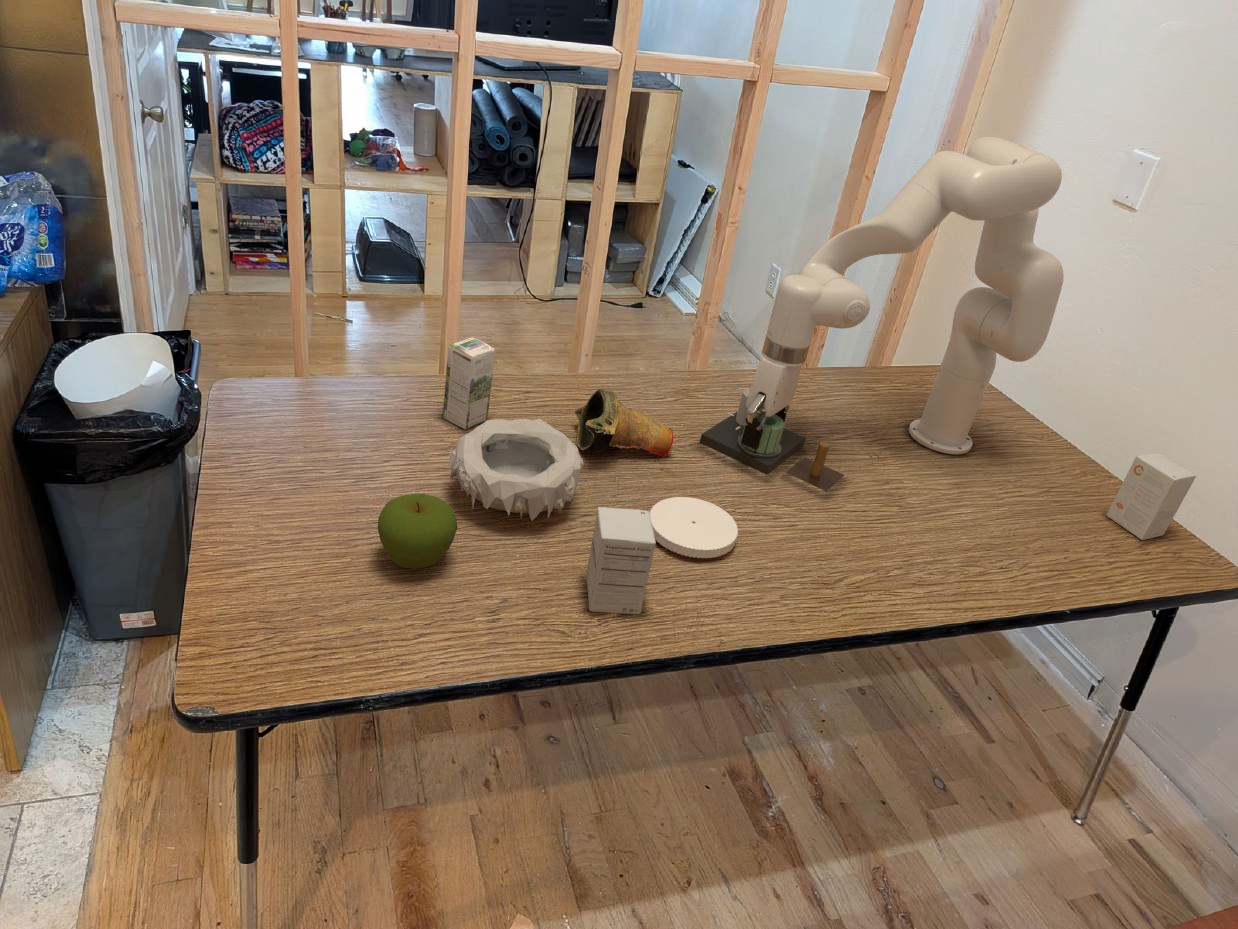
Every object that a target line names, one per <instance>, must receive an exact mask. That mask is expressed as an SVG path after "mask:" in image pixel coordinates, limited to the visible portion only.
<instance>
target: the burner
mask: <svg viewBox="0 0 1238 929" xmlns="http://www.w3.org/2000/svg"><path fill="white" fill-rule="evenodd" d="M741 438H742V435H740V436H739V437H738V440H737V445H738V447H739V448H740V449H741V450H742V451H743V452H745V453H747V454H749V455H751V456H754V457H758V458H764V459H770V458H775V457H777V456H779V455H780V453H781V445H780V444H779V446H778V449H777V451H775V452H774V453H773V452H772V453H769V454H765V453H764V454H763V453H757V452H756V451H752V450H750V449H748V447H745V446H744V445H743V444H742V443H741Z"/></svg>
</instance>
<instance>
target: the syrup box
mask: <svg viewBox="0 0 1238 929" xmlns="http://www.w3.org/2000/svg"><path fill="white" fill-rule="evenodd" d="M495 354H496V349H495V348H494V347H492V346H490V345H489V344H488V343H486V342H484V341H482V340H480V339H479V338H476V337H469V338H466V339H463V340H459V341H457V342H454V343H452V344H449V345H448V346H447V358H446V371H445V383H444V386H445V387H444V396H443V397H444V398H443V407H442V418H443V419H444V420H445V421H447V422H450V423H452V424H453V425H455V426H457V427H459V428H461V429H462V430H466V431H467V430H470V429H471V428H473V427H475V426H476V427H477V426H479V425H481V424H483V423H484V422H485V421H487V420H489V409H490V400H491V393H492V384H493V383H492V382H493V373H494V364H495V356H496V355H495Z"/></svg>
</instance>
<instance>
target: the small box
mask: <svg viewBox="0 0 1238 929" xmlns="http://www.w3.org/2000/svg"><path fill="white" fill-rule="evenodd" d="M1196 478H1197V475H1196V474H1194V473H1193V472H1191V471H1189V470H1187V469H1186V468H1184V467H1182V466H1181V465H1179V464H1178V463H1175V462H1174V461H1172V460H1171V459H1169V458H1168V457H1166V456H1164V455H1162V454H1160V453H1159V452H1155V453H1147V454H1142V455H1136V456H1135V459H1134V460H1133V461H1132V464H1131V466H1130V468H1129V469H1128V472H1127V473H1126V476H1125V478H1124V479H1123V482H1122V483H1121V485H1120V487H1119V489H1118V491H1117V493H1116V495H1115V497H1114V498H1113V500H1112V502H1111V504H1110V506H1109V508H1108V510H1107V512H1106V514H1105V516H1106V517H1107V518H1109V519H1110V520H1111V521H1113V522H1114V523H1116V524H1117V525H1119V526H1121V527H1122V528H1123V529H1125V530H1126V531H1128V532H1129V533H1131V534H1132V535H1134V536H1135V537H1137V538H1138V539H1139V540H1141V541H1144V540H1148V539H1153V538H1157V537H1161V536H1164V535H1165V533H1166V532H1167V530H1168V528H1169V527H1170V524H1171V523H1172V522H1173V519H1174V517H1175V516H1176V514H1177V512H1178V510H1179V508H1180V507H1181V504H1182V503H1183V501H1184V500H1185V498H1186V496H1187V494H1188V492H1189V490H1190V489H1191V487H1192V485H1193V483H1194V482H1195V479H1196Z"/></svg>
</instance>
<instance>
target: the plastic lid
mask: <svg viewBox="0 0 1238 929" xmlns="http://www.w3.org/2000/svg"><path fill="white" fill-rule="evenodd" d="M649 513H650V518H651V523H652V527H653V532H654V537H655V541H656V542H657V543H659V545H661V546H662V547H664V548H665V549H667V550H669V551H671V552H673V553H676V554H680V555H681V556H684V557H689V558H697V559H700V558H701V559H711V558H718V557H722V556H724V555H725V554H727V553H729V552H730V551H732V549H733V548H734V547H735V545H736V543H737V539H738V536H739V527H738V524H737V522H736V520H735V519H734V518H733V517H732V515H731V514H729V512H727V511H726V510H724V508H721V507H720V506H718V505H716V504H714V503H712V502H710V501H707V500H704V499H700V498H696V497H692V496H691V497H688V496H672V497H668V498H663V499H661V500H659V501H657V502H656V503H655V504H653V506H652V507H651V508H650V510H649Z"/></svg>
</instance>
